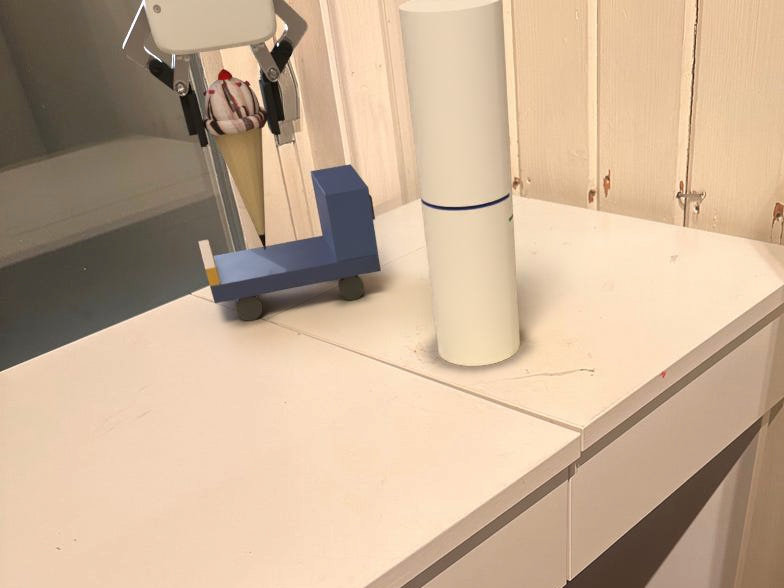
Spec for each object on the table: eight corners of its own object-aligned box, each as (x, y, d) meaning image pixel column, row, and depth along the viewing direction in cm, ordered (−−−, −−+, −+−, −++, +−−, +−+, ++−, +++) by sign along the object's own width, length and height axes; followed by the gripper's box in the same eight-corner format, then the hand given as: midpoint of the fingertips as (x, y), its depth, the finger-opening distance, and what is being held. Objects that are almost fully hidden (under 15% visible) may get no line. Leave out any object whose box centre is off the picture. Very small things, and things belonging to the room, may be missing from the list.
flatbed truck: (221, 328, 87) (191, 218, 80) (214, 297, 92) (184, 192, 86) (387, 295, 89) (371, 186, 83) (369, 267, 95) (353, 163, 88)
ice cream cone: (305, 240, 88) (269, 60, 78) (277, 262, 84) (235, 76, 74) (254, 237, 90) (212, 61, 80) (224, 259, 86) (176, 77, 76)
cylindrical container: (421, 355, 79) (377, 10, 62) (469, 323, 83) (439, -9, 66) (489, 372, 76) (462, 13, 59) (535, 338, 80) (522, -8, 63)
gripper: (284, -143, 72) (327, 112, 85) (61, -118, 69) (139, 143, 82) (299, -141, 67) (342, 131, 79) (58, -114, 64) (142, 165, 76)
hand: (238, 135), depth 80 cm, fingers closed on ice cream cone, 5 cm apart
